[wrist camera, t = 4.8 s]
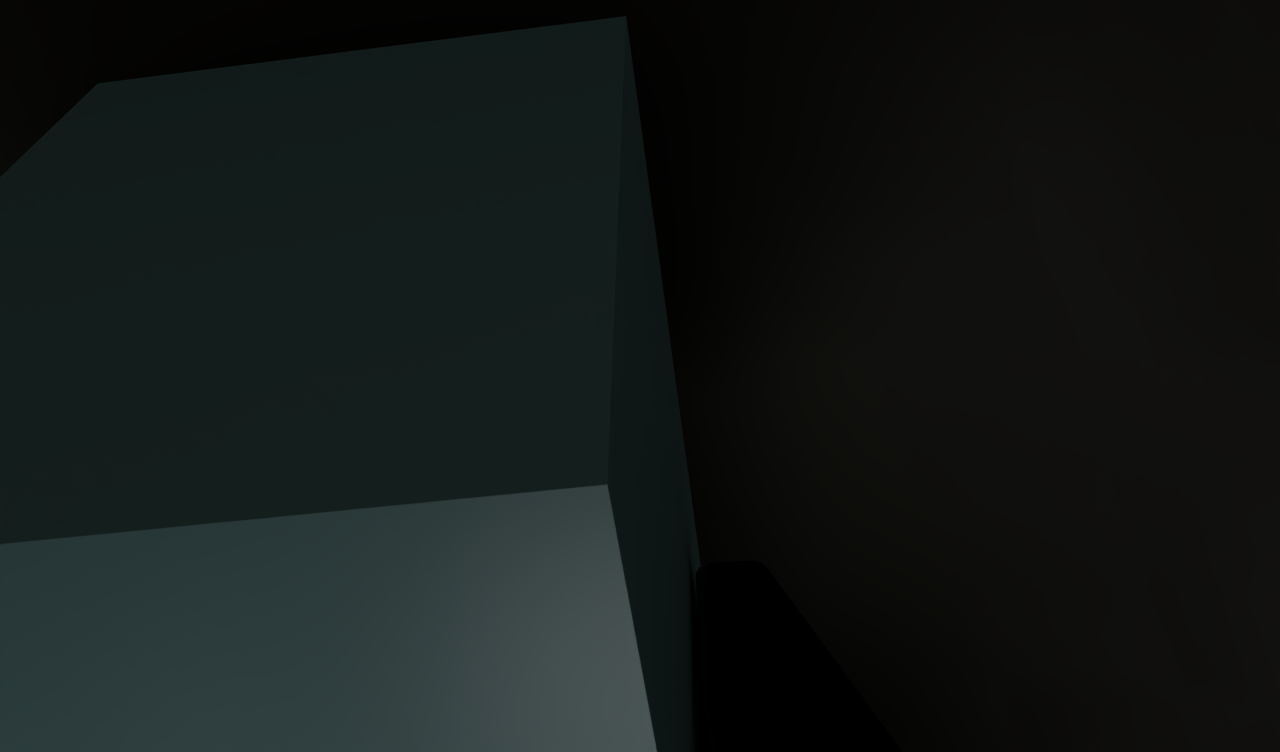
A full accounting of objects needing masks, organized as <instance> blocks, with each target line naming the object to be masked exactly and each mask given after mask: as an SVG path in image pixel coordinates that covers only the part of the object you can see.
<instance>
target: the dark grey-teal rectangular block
mask: <svg viewBox="0 0 1280 752" xmlns="http://www.w3.org/2000/svg"><path fill="white" fill-rule="evenodd" d="M700 566H701V564H700V556H699V549H698V542H697V534H696V527H695V520H694V512H693V505H692V497H691V490H690V483H689V475H688V468H687V461H686V453H685V446H684V439H683V431H682V424H681V417H680V409H679V402H678V394H677V387H676V380H675V372H674V365H673V358H672V350H671V343H670V336H669V328H668V321H667V313H666V306H665V299H664V291H663V284H662V277H661V269H660V262H659V255H658V247H657V240H656V232H655V225H654V218H653V210H652V203H651V196H650V188H649V181H648V174H647V166H646V159H645V151H644V144H643V137H642V129H641V122H640V115H639V107H638V100H637V93H636V85H635V78H634V71H633V63H632V56H631V48H630V41H629V34H628V26H627V19H626V16H623V17H616V18H608V19H600V20H592V21H584V22H576V23H569V24H561V25H553V26H545V27H537V28H529V29H521V30H514V31H506V32H498V33H490V34H482V35H474V36H466V37H459V38H451V39H443V40H435V41H427V42H419V43H411V44H404V45H396V46H388V47H380V48H372V49H364V50H356V51H349V52H341V53H333V54H325V55H317V56H309V57H301V58H294V59H286V60H278V61H270V62H262V63H254V64H246V65H239V66H231V67H223V68H215V69H207V70H199V71H191V72H184V73H176V74H168V75H160V76H152V77H144V78H136V79H129V80H121V81H113V82H105V83H98V84H97V85H96V86H95V87H94V88H93V89H91V90H90V91H89V92H88V93H87V94H86V95H85V96H84V97H83V98H82V99H81V100H80V101H79V102H78V103H77V104H76V105H75V106H74V107H73V108H72V109H71V110H70V111H69V112H68V113H66V114H65V115H64V116H63V117H62V118H61V119H60V120H59V121H58V122H57V123H56V124H55V125H54V126H53V127H52V128H51V129H50V130H49V131H48V132H47V133H46V134H45V135H44V136H43V137H41V138H40V139H39V140H38V141H37V142H36V143H35V144H34V145H33V146H32V147H31V148H30V149H29V150H28V151H27V152H26V153H25V154H24V155H23V156H22V157H21V158H20V159H19V160H17V161H16V162H15V163H14V164H13V165H12V166H11V167H10V168H9V169H8V170H7V171H6V172H5V173H4V174H3V175H2V176H1V177H0V752H706V739H705V725H704V711H703V697H702V681H701V664H700V647H699V630H698V613H697V597H696V580H695V575H696V571H697V569H698V567H700Z"/></svg>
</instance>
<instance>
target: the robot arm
mask: <svg viewBox="0 0 1280 752" xmlns="http://www.w3.org/2000/svg"><path fill="white" fill-rule="evenodd" d="M695 580H696V597H697V613H698V630H699V647H700V664H701V681H702V697H703V711H704V725H705V739H706V752H902V750H901V749H900V748H899V746H898V745H897V744H896V742H895V741H894V739H893V738H892V737H891V735H890V734H889V733H888V731H887V730H886V729H885V727H884V726H883V725H882V723H881V722H880V720H879V719H878V718H877V716H876V715H875V714H874V712H873V711H872V710H871V708H870V707H869V706H868V704H867V703H866V701H865V700H864V699H863V697H862V696H861V695H860V693H859V692H858V691H857V689H856V688H855V687H854V685H853V684H852V682H851V681H850V680H849V678H848V677H847V676H846V674H845V673H844V672H843V670H842V669H841V668H840V666H839V665H838V663H837V662H836V661H835V659H834V658H833V657H832V655H831V654H830V653H829V651H828V650H827V649H826V647H825V646H824V644H823V643H822V642H821V640H820V639H819V638H818V636H817V635H816V634H815V632H814V631H813V630H812V628H811V627H810V625H809V624H808V623H807V621H806V620H805V619H804V617H803V616H802V615H801V613H800V612H799V611H798V609H797V608H796V606H795V605H794V604H793V602H792V601H791V600H790V598H789V597H788V596H787V594H786V593H785V592H784V590H783V589H782V587H781V586H780V585H779V583H778V582H777V581H776V579H775V578H774V577H773V575H772V574H771V572H770V571H769V570H768V569H767V568H766V567H765V566H764V565H763V564H762V563H760V562H758V561H735V562H719V563H706V564H702V565H701V566H700V567H698V569H697V571H696V575H695Z"/></svg>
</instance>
